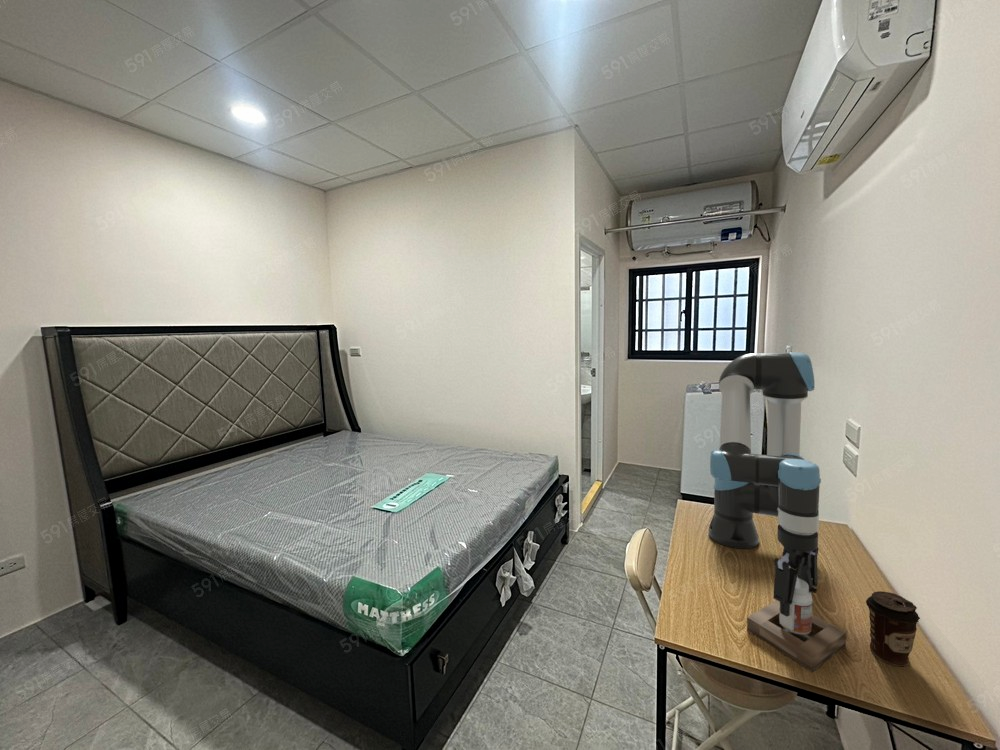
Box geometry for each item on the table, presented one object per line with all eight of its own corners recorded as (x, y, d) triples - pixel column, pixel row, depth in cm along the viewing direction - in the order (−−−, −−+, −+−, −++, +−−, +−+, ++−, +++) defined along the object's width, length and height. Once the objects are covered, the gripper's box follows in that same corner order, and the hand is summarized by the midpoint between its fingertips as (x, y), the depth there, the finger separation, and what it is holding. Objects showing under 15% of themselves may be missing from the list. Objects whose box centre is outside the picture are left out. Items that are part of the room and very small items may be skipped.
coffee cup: (928, 665, 87) (931, 609, 85) (901, 676, 84) (904, 618, 83) (880, 637, 95) (882, 585, 94) (854, 646, 93) (857, 593, 91)
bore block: (780, 610, 105) (781, 597, 105) (845, 646, 93) (846, 632, 92) (747, 630, 99) (747, 617, 99) (811, 671, 87) (812, 656, 86)
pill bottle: (772, 619, 98) (773, 576, 97) (794, 615, 99) (795, 572, 98) (795, 638, 92) (796, 592, 91) (818, 633, 93) (819, 588, 92)
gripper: (802, 511, 101) (800, 598, 103) (755, 532, 92) (754, 626, 95) (838, 523, 94) (835, 616, 96) (791, 546, 86) (788, 647, 88)
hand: (795, 620), depth 96 cm, fingers closed on pill bottle, 6 cm apart
